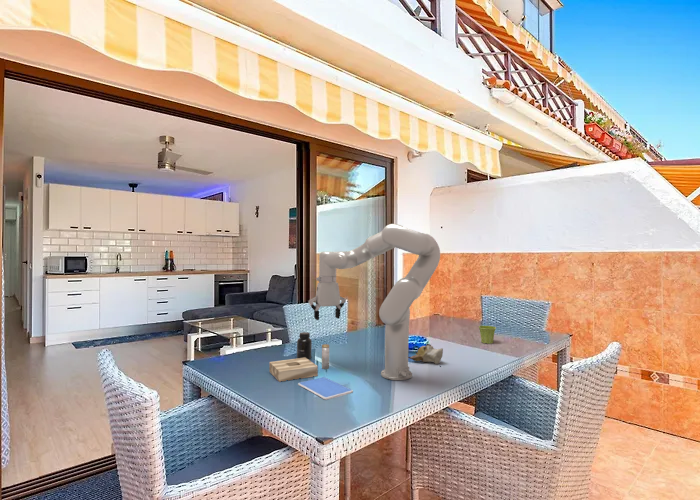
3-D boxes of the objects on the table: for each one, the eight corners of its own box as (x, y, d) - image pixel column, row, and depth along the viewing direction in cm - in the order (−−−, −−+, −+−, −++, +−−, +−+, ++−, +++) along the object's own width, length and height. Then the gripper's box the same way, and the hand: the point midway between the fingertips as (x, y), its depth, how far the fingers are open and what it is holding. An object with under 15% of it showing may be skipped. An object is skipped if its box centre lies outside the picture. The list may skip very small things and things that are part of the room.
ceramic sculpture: (439, 347, 170) (407, 344, 177) (439, 367, 169) (408, 363, 177) (446, 342, 179) (415, 340, 186) (447, 361, 178) (416, 358, 186)
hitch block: (317, 375, 157) (317, 366, 157) (279, 381, 149) (279, 371, 149) (305, 366, 169) (305, 357, 169) (269, 371, 162) (269, 362, 162)
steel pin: (330, 368, 166) (330, 345, 166) (323, 369, 165) (323, 346, 165) (327, 366, 169) (327, 343, 169) (320, 367, 168) (320, 344, 168)
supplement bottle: (297, 361, 177) (298, 335, 177) (295, 357, 184) (296, 331, 184) (312, 360, 179) (312, 334, 179) (310, 356, 186) (310, 331, 186)
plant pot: (474, 341, 219) (474, 326, 219) (488, 340, 222) (488, 325, 222) (485, 345, 210) (485, 329, 210) (499, 344, 213) (499, 328, 213)
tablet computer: (296, 385, 147) (297, 382, 147) (324, 379, 154) (324, 375, 154) (325, 401, 131) (325, 398, 131) (354, 393, 139) (354, 390, 139)
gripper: (312, 281, 162) (311, 321, 162) (349, 280, 170) (348, 318, 170) (306, 279, 169) (305, 318, 169) (342, 278, 176) (341, 316, 176)
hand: (327, 318), depth 169 cm, fingers open, 9 cm apart
